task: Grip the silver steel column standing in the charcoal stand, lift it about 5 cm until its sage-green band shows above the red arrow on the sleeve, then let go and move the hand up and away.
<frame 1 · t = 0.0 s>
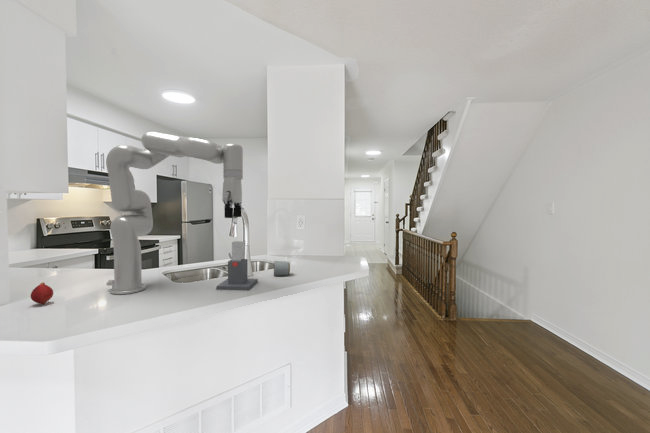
hand: (233, 217, 121), 31 cm above the table, tool pointing down, fingers open, 9 cm apart
ceramic mug: (280, 275, 155), on the table
onion: (42, 304, 107), on the table
column: (237, 261, 133), point 11 cm above the table, slide at 0.0 cm
stand: (238, 285, 133), on the table
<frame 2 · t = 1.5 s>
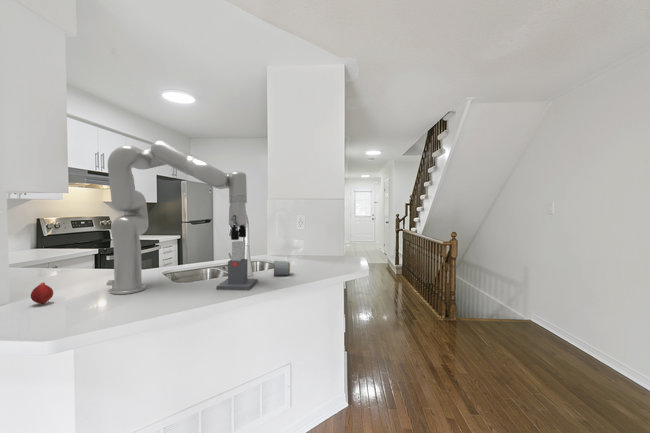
hand: (238, 238, 132), 21 cm above the table, tool pointing down, fingers open, 9 cm apart
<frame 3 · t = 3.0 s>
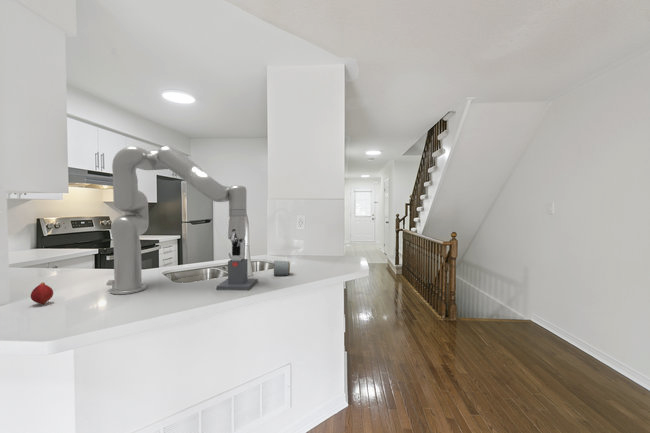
hand: (237, 254, 133), 14 cm above the table, tool pointing down, fingers closed on column, 4 cm apart
column: (237, 261, 133), point 11 cm above the table, slide at 0.0 cm, touching gripper
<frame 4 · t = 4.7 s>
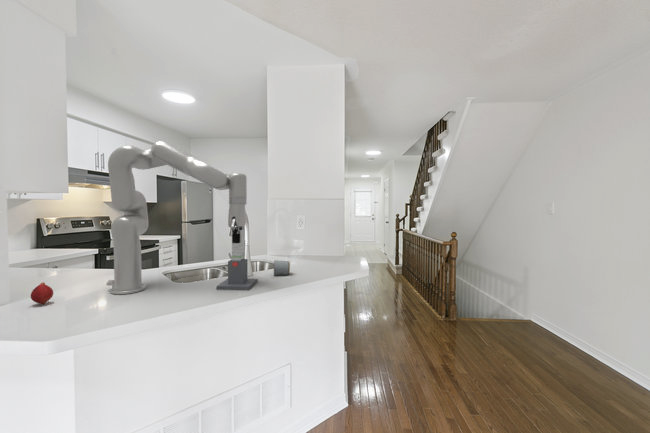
hand: (237, 241, 132), 20 cm above the table, tool pointing down, fingers closed on column, 4 cm apart
column: (237, 249, 133), point 16 cm above the table, slide at 5.4 cm, touching gripper
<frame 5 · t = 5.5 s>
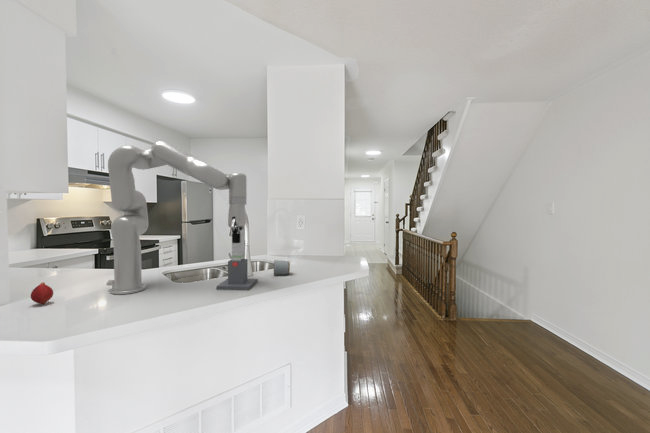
hand: (237, 241, 132), 20 cm above the table, tool pointing down, fingers closed on column, 4 cm apart
column: (237, 249, 133), point 16 cm above the table, slide at 5.4 cm, touching gripper
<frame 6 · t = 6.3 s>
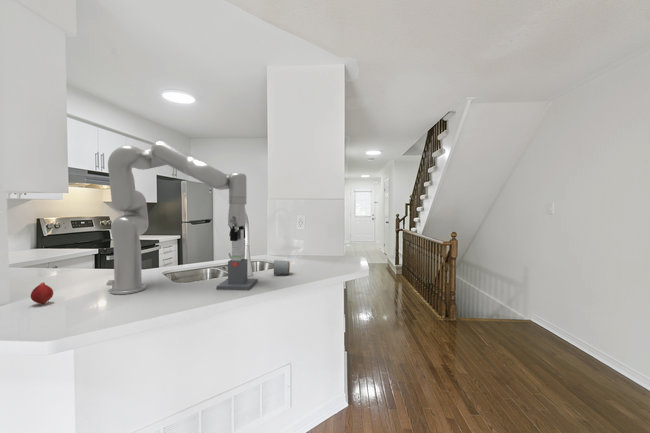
hand: (237, 239, 132), 21 cm above the table, tool pointing down, fingers open, 9 cm apart
column: (237, 249, 133), point 16 cm above the table, slide at 5.5 cm
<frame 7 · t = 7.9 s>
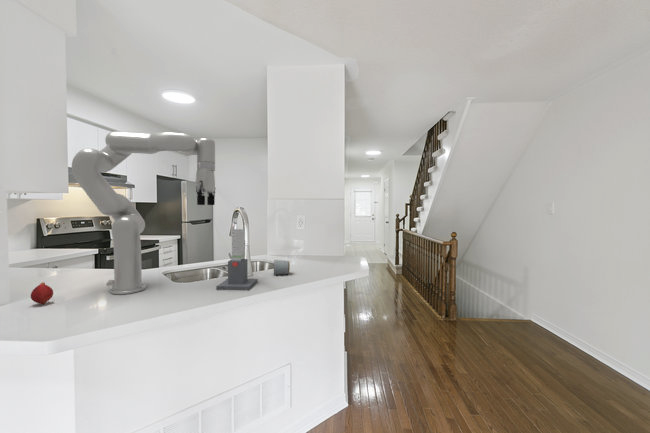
hand: (206, 204, 134), 36 cm above the table, tool pointing down, fingers open, 9 cm apart
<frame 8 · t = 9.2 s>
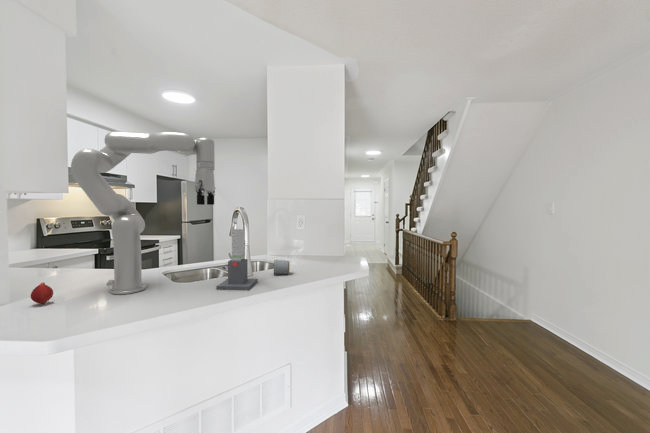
hand: (205, 204, 134), 36 cm above the table, tool pointing down, fingers open, 9 cm apart
at the end: column slide at 5.5 cm; the gripper is holding nothing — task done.
